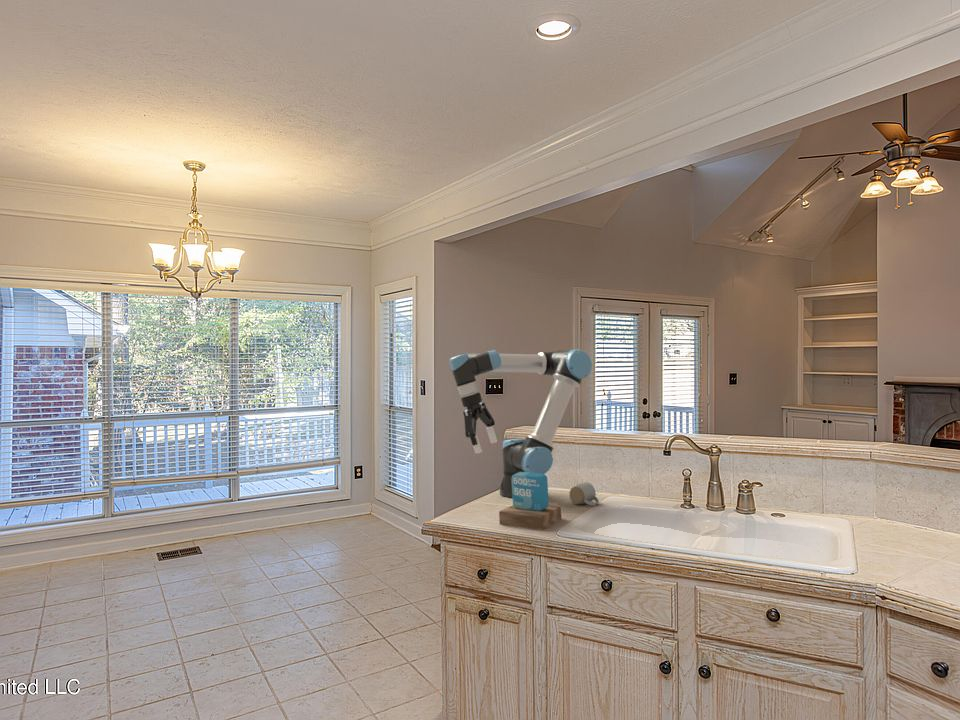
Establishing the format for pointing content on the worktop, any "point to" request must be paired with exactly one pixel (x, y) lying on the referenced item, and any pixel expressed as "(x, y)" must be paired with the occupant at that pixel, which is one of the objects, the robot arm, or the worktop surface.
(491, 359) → the robot arm
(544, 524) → the walnut block
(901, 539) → the worktop surface
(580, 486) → the ceramic mug
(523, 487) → the data package
